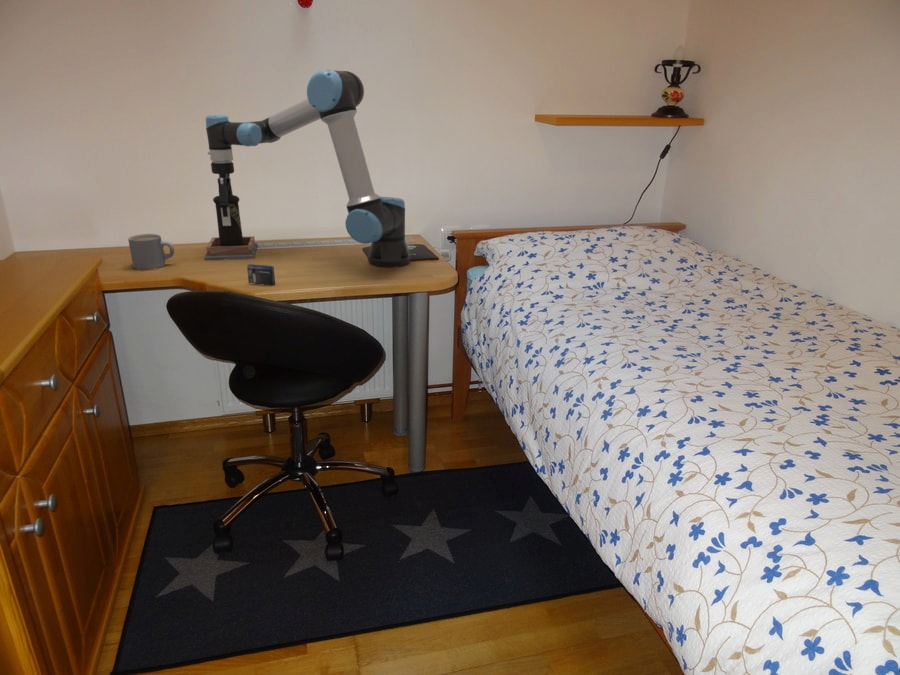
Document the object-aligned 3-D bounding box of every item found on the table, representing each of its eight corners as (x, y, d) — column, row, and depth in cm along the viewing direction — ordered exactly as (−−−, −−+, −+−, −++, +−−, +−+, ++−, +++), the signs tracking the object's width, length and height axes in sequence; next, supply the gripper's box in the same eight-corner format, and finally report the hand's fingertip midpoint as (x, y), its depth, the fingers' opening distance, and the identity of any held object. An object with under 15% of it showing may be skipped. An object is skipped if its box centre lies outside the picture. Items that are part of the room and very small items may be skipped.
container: (240, 253, 226) (234, 197, 218) (215, 252, 226) (208, 197, 218) (248, 247, 234) (242, 193, 226) (224, 246, 234) (217, 193, 226)
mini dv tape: (248, 283, 196) (246, 265, 193) (251, 282, 197) (249, 264, 195) (273, 285, 195) (271, 267, 192) (275, 284, 196) (273, 265, 194)
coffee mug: (128, 270, 206) (123, 240, 203) (140, 262, 216) (135, 233, 212) (169, 270, 208) (165, 240, 204) (179, 262, 217) (175, 233, 213)
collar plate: (254, 258, 223) (253, 247, 221) (204, 260, 219) (203, 249, 218) (257, 245, 241) (256, 235, 239) (211, 246, 237) (210, 236, 236)
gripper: (215, 157, 228) (222, 215, 236) (205, 166, 205) (213, 229, 214) (236, 157, 230) (242, 214, 238) (229, 166, 207) (236, 228, 215)
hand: (229, 221), depth 226 cm, fingers open, 13 cm apart
